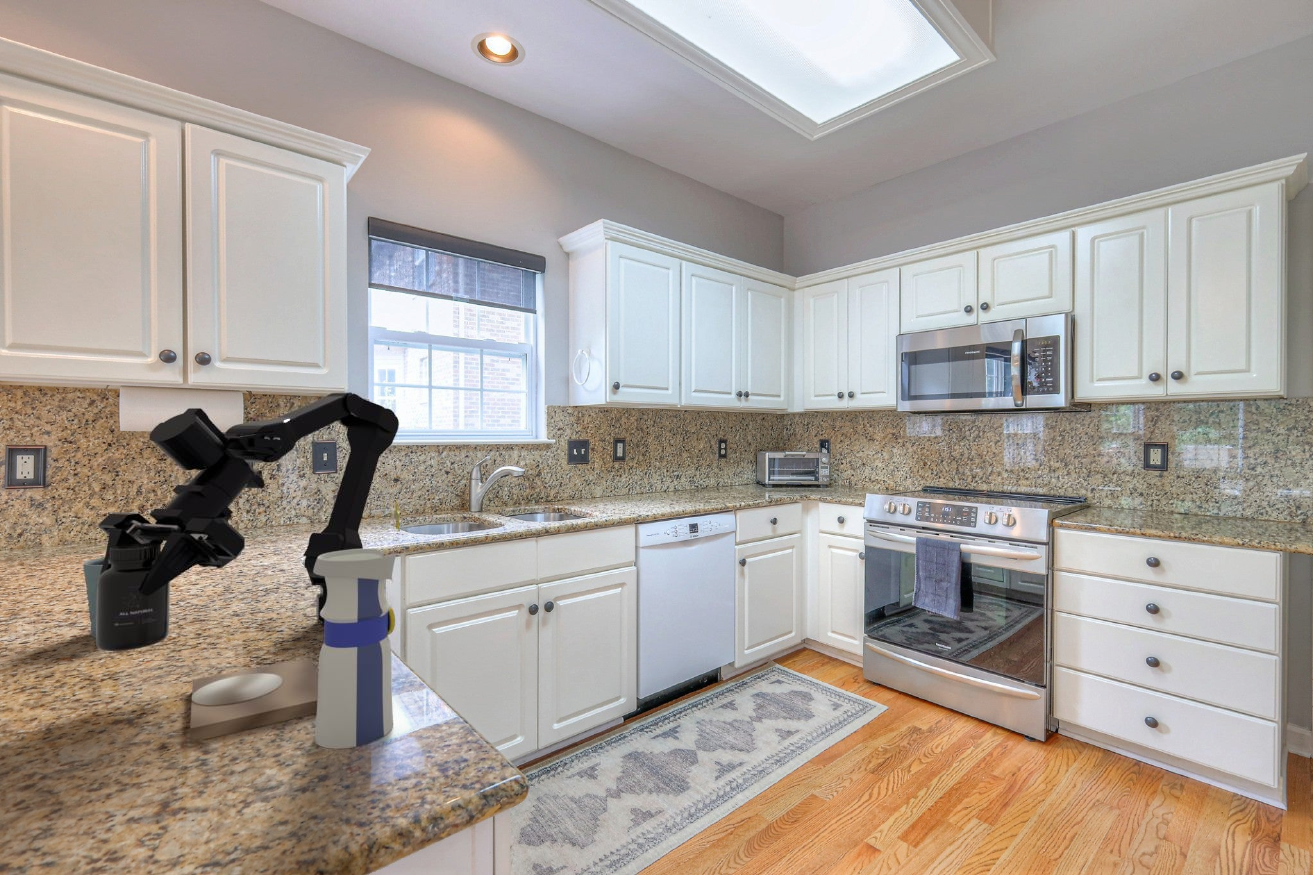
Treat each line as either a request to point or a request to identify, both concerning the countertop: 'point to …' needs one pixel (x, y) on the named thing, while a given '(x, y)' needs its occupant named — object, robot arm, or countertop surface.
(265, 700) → the walnut board
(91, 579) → the blue-grey cup
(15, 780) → the countertop surface
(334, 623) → the water bottle
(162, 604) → the supplement bottle
